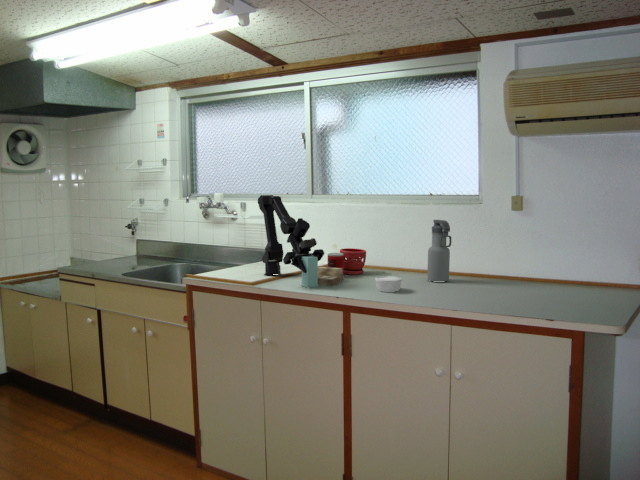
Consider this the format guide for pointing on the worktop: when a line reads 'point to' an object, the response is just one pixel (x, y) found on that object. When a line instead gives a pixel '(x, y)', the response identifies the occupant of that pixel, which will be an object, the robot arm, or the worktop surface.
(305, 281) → the column
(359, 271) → the plant pot
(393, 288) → the ramekin
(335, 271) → the beam
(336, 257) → the canned food
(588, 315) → the worktop surface
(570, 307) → the worktop surface
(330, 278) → the baseplate
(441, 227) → the water bottle
